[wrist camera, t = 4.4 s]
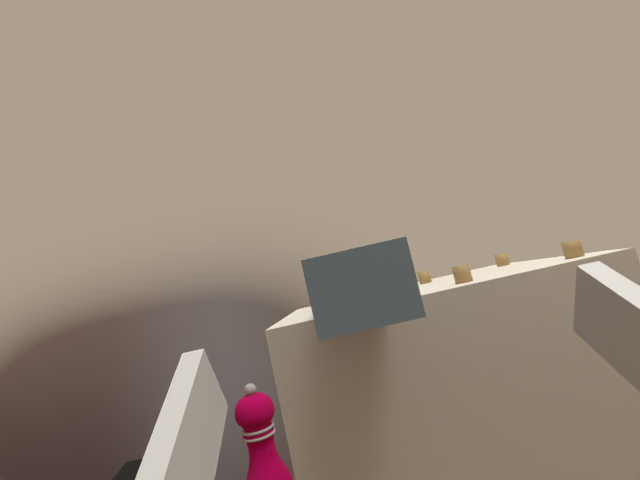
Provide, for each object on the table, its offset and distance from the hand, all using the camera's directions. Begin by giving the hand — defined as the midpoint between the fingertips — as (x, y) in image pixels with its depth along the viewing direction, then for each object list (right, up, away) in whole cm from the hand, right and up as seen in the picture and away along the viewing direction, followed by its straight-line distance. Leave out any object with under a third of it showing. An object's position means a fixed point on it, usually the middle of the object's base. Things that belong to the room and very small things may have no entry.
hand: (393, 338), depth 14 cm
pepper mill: (-9, -38, +45) cm, 60 cm away
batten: (0, -1, +14) cm, 14 cm away
